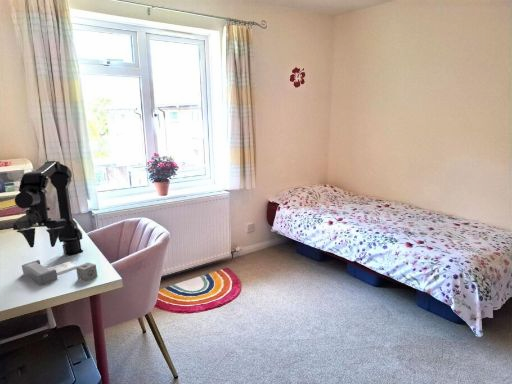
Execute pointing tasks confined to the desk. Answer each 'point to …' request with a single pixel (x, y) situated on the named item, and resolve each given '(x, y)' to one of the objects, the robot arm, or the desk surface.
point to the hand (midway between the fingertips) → (42, 247)
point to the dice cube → (86, 271)
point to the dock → (39, 273)
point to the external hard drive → (63, 267)
